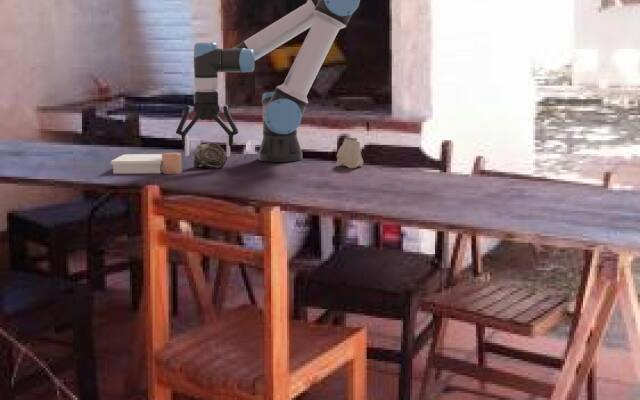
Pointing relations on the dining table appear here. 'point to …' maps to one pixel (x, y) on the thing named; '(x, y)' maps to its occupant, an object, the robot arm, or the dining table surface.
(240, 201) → the dining table surface
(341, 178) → the dining table surface
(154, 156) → the stand
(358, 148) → the beige rough lump
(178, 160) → the peach rounded glossy part
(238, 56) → the robot arm
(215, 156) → the fossil
